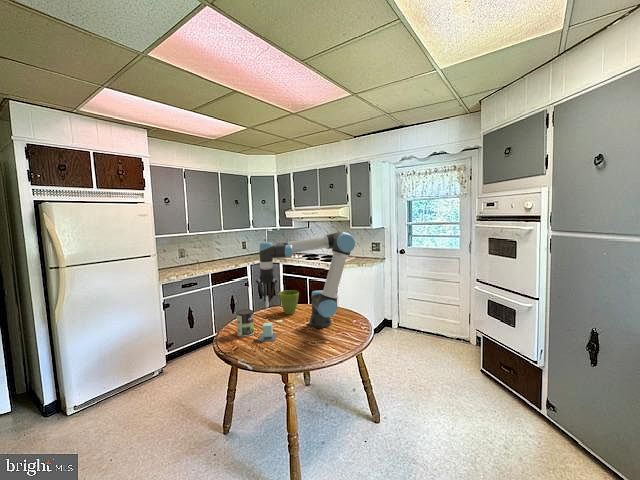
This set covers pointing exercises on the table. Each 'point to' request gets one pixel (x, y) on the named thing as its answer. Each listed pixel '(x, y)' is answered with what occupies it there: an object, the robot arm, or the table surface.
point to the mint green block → (267, 329)
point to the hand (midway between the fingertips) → (267, 306)
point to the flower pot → (289, 300)
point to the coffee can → (245, 322)
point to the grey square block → (271, 338)
